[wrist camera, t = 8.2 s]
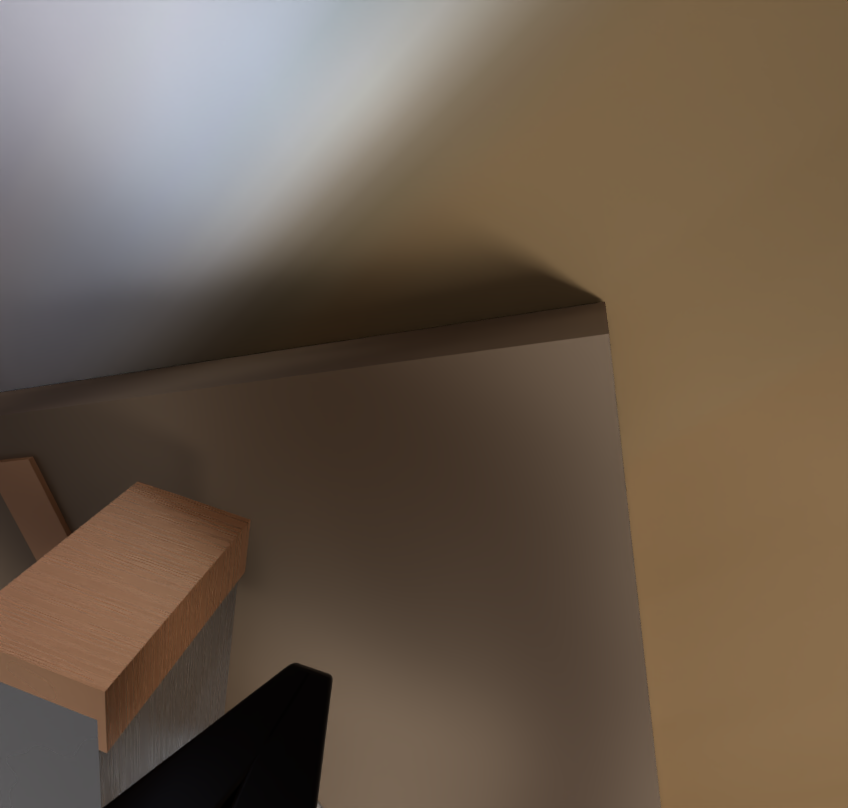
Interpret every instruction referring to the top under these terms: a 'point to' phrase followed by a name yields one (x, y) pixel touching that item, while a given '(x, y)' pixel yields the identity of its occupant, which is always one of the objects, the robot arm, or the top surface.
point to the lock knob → (116, 648)
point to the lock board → (394, 545)
